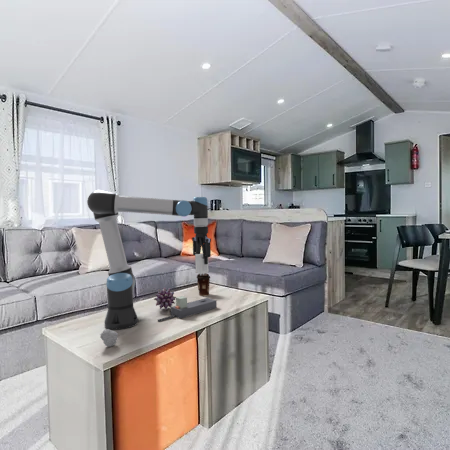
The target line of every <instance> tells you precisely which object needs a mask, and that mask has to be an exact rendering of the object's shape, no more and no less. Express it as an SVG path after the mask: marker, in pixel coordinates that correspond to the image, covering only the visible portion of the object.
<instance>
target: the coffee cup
mask: <svg viewBox="0 0 450 450" xmlns="http://www.w3.org/2000/svg"><path fill="white" fill-rule="evenodd" d="M196 279H197V289H198V295H199V296H200V297H208V296H210V283H211V282H210V281H211V280H210V279H211V275H209V273H204V275H203V274H201V276H200V274H198V273H197V275H196Z"/></svg>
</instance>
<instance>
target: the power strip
mask: <svg viewBox="0 0 450 450" xmlns="http://www.w3.org/2000/svg"><path fill="white" fill-rule="evenodd" d="M217 303H218V302H217V300H216V299H213V298H209V297H205V298H200V299H197V300H193V301H190V302H187V307H186V308H182V309H180V307H179V306H176V305H175V306H171V308H170V316H169V315H168V316H166V317H161V318H158V319H157V322H158V323H159V322H163V321H167V320H169V319H174V318H178V319H183V318H186V317H190V316H193V315H197V314H201V313H204V312H207V311H211V310H214V309H217V308H218V307H217V305H218V304H217Z"/></svg>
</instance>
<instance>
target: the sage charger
mask: <svg viewBox="0 0 450 450" xmlns="http://www.w3.org/2000/svg"><path fill="white" fill-rule="evenodd" d="M175 297H176V296H175ZM187 303H188V297H186V296H183V295H181V296H177V297H176V298H175V306H179V307H180V309H182V308H186V307H187Z"/></svg>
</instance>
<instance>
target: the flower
mask: <svg viewBox="0 0 450 450" xmlns="http://www.w3.org/2000/svg"><path fill="white" fill-rule="evenodd" d="M157 290H158V291H157V293H156V294H154V296H156V297H154V298H153V300H154V301H156V303H155V306H159V310H162V309H163V308H164V310H165V311H166V310H168V308H170V309H171V307H173V304H174V305H176V296H175V295H174V294H175V292H174V291H171V288H168V289H166V287H163V289H157Z"/></svg>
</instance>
